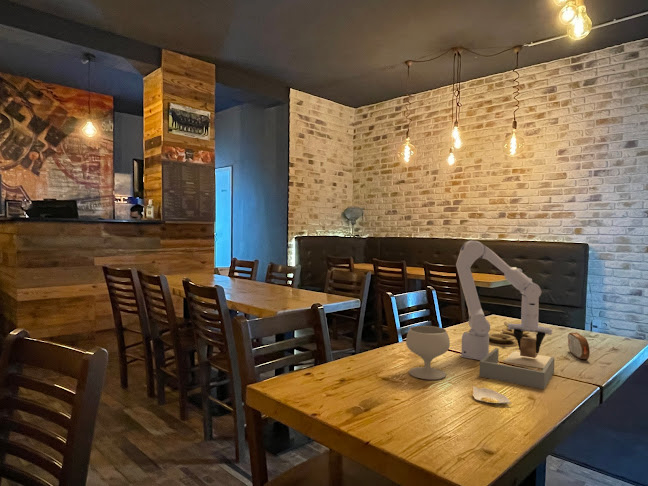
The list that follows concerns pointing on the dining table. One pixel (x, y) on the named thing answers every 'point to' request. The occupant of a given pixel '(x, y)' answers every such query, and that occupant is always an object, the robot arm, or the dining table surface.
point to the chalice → (427, 349)
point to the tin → (578, 345)
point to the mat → (527, 360)
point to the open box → (515, 372)
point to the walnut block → (528, 347)
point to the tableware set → (505, 338)
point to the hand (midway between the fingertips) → (529, 351)
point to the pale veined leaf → (489, 395)
